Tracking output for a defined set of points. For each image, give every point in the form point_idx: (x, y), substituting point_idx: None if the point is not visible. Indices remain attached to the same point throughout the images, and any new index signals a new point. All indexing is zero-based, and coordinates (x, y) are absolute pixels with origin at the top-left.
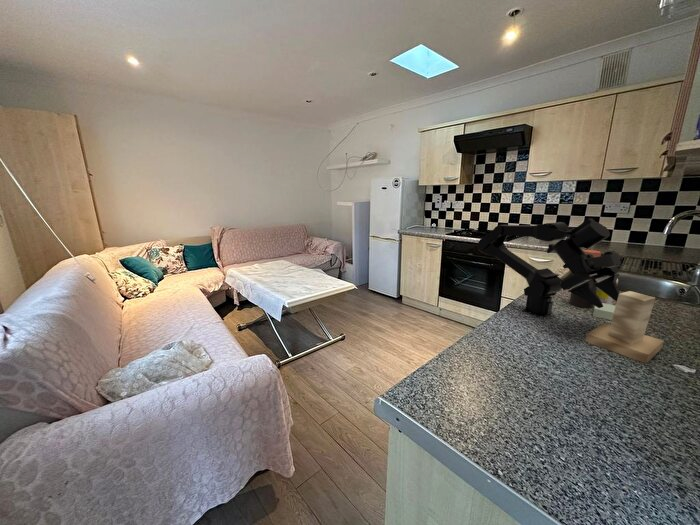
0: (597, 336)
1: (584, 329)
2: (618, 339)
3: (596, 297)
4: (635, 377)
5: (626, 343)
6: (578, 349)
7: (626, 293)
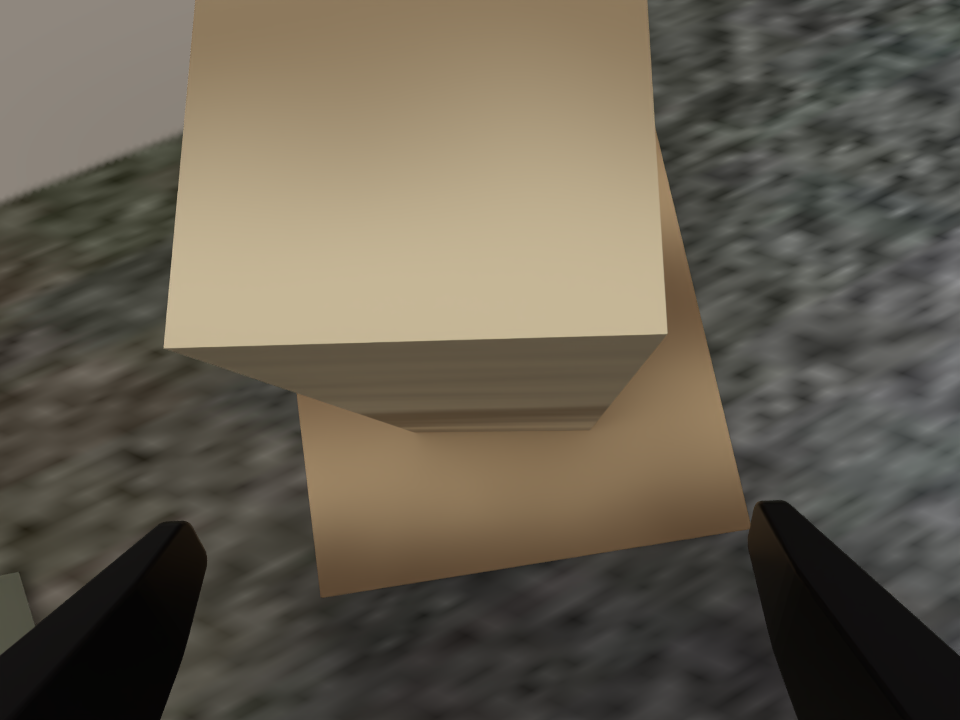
0: (713, 452)
1: (487, 666)
2: None
3: (936, 645)
4: (912, 93)
5: None
6: (929, 459)
7: (464, 274)
